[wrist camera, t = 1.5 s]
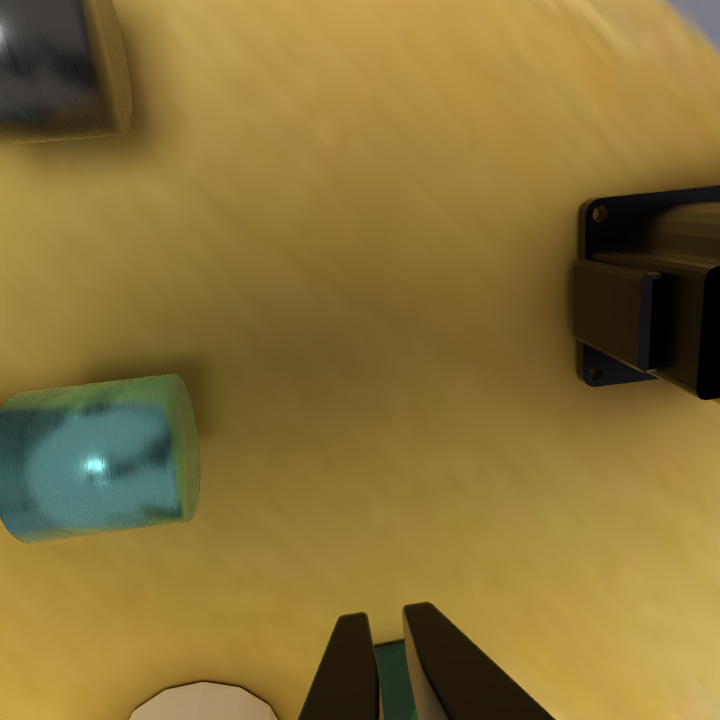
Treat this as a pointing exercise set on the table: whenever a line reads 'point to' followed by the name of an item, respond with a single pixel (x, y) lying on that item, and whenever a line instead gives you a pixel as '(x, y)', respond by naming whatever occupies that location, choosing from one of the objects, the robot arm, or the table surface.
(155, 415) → the teal and white peg
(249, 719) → the white cup
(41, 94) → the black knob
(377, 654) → the crayon box
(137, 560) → the table surface
